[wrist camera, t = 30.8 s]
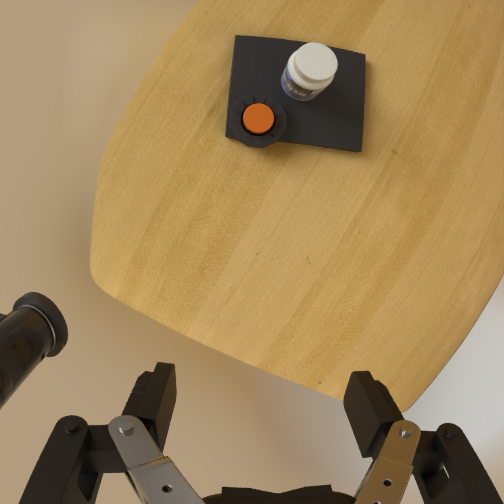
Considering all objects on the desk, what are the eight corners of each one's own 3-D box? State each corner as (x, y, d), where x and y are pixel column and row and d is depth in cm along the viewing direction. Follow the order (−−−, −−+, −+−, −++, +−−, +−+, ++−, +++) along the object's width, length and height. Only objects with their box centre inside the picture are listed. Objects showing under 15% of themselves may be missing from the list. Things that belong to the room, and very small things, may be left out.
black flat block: (225, 146, 35) (223, 144, 32) (235, 39, 31) (234, 29, 28) (356, 160, 36) (365, 160, 33) (361, 57, 32) (370, 50, 29)
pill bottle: (272, 78, 31) (280, 53, 23) (303, 58, 31) (319, 30, 23) (298, 109, 33) (313, 92, 24) (328, 88, 32) (351, 68, 24)
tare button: (242, 132, 32) (242, 131, 31) (244, 104, 31) (244, 102, 30) (271, 135, 32) (272, 133, 31) (273, 107, 31) (275, 104, 30)
